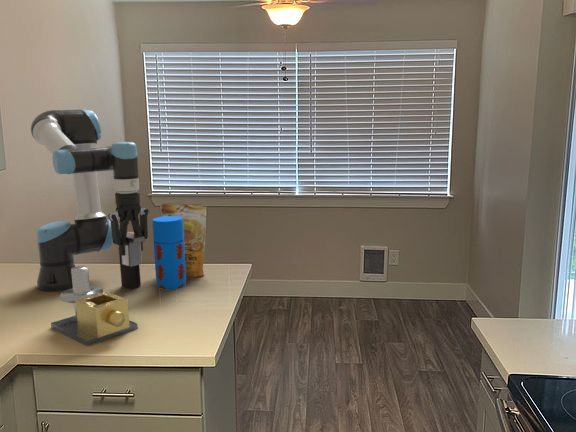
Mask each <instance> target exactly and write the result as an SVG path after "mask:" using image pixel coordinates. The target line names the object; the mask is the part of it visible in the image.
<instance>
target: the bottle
mask: <svg viewBox="0 0 576 432" xmlns="http://www.w3.org/2000/svg"><path fill="white" fill-rule="evenodd" d="M128 232H129V233H132V234H134V231H128ZM118 258H119V269H120V270H119V271H120V281H121V287H122V288H123V289H125V290H126V289H136V288H139V287H140V286H141V283H142V282H141V270H140V267H141V266H140V265H136V266H132V267H130V266H127V265H123V264H122V255H120V251H119V250H118Z"/></svg>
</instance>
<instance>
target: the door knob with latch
mask: <svg viewBox="0 0 576 432" xmlns="http://www.w3.org/2000/svg"><path fill="white" fill-rule="evenodd" d="M71 273H72V284H73V287H72V288H69V289H65V290H63V291H62V292H61V293H60V300H61V301H62V302H64V303H70V304H74V312H75V313H74V314H75V315H72V316H70V317H66V318H63V319H59V320H56V321H51V322H50V326H51V329H53V330H56V332H57V331H58V332H59V333H62V334H63V335H65V336H67V337H69V338H71V339H73V340H75V341H77V342H79V343H81V344H83V345H84V346H87V347H88V346H92V345H95V344H98V343H100V342H102V341H105V340H106V341H107V340H109V339H111V338H114V337H118V336H120V335H123V334H125V333H128V332H131V331H134V330H137V329H138V326H139V325H138V323H137V322H135V321H132V320H130V316H129V303H128V298H125V297H123V296H120V295H117V294H115V293H112V292H109V291H104V288H102V287H101V286H96V285H91V284H90V283H91V282H90V271H89V266H87V265H80V266H76V267H73V268H71Z"/></svg>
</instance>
